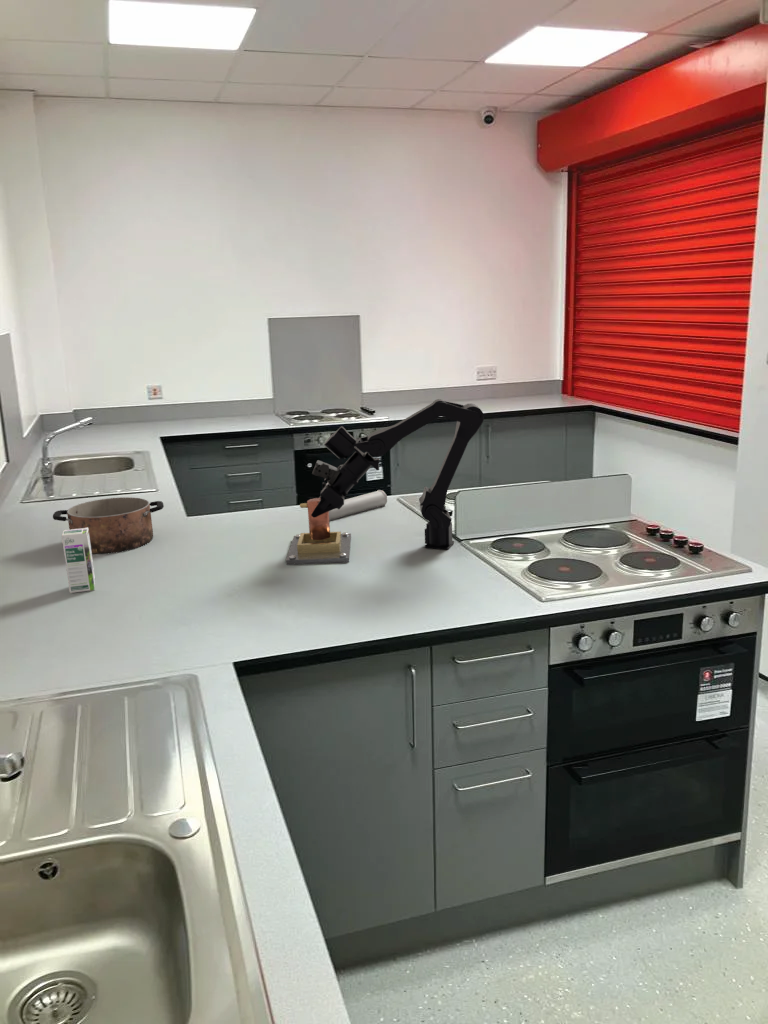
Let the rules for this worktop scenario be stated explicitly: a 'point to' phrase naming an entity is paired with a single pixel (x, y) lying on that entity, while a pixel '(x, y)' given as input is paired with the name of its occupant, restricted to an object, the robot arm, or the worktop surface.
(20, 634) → the worktop surface
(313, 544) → the gray mounting plate
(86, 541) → the syrup box
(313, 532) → the copper cylinder
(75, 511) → the cooking pot
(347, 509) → the tube
